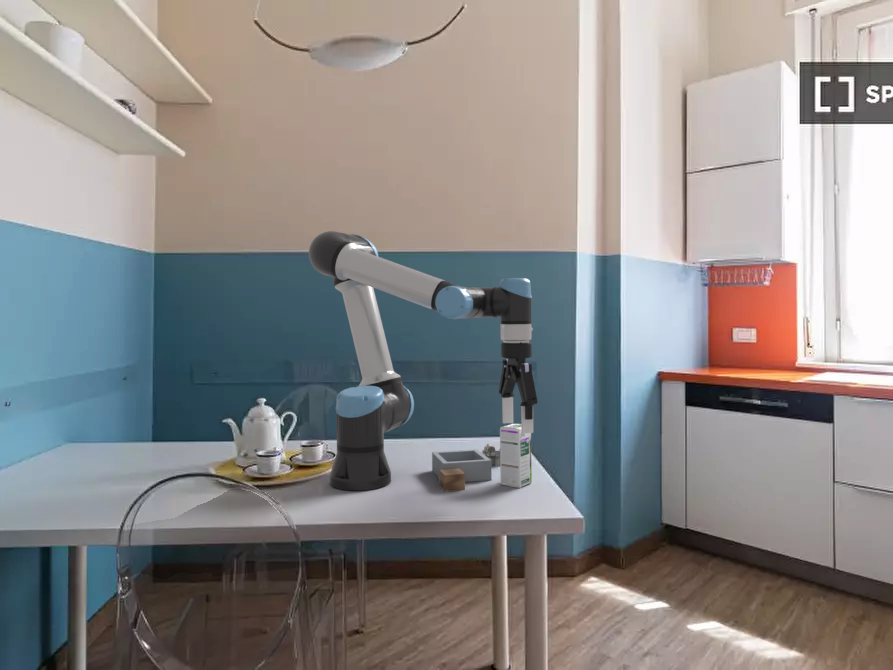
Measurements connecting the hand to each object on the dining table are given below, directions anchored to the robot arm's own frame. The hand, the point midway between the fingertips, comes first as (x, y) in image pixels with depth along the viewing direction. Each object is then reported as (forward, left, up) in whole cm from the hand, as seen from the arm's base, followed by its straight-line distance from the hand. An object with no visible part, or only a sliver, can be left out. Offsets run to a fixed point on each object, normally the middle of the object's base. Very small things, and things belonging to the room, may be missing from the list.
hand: (517, 427), depth 156 cm
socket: (-11, +11, -14) cm, 21 cm away
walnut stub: (-16, +1, -14) cm, 22 cm away
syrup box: (0, 0, -14) cm, 14 cm away
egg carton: (+2, +23, -14) cm, 27 cm away
